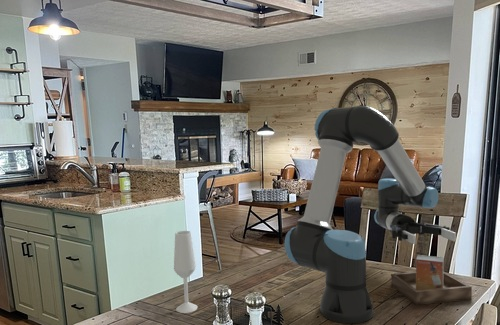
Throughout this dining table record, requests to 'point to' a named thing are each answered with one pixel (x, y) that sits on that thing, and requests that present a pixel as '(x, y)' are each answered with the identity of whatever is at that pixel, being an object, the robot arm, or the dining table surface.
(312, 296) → the dining table surface
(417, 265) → the small box
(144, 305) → the dining table surface
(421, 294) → the wooden tray
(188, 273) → the champagne flute
